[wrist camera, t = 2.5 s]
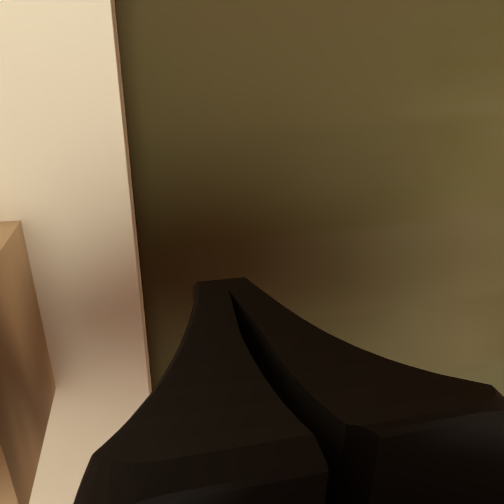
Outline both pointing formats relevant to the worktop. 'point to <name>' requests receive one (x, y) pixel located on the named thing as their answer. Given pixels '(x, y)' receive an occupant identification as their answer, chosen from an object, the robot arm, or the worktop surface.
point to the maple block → (21, 370)
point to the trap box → (74, 222)
